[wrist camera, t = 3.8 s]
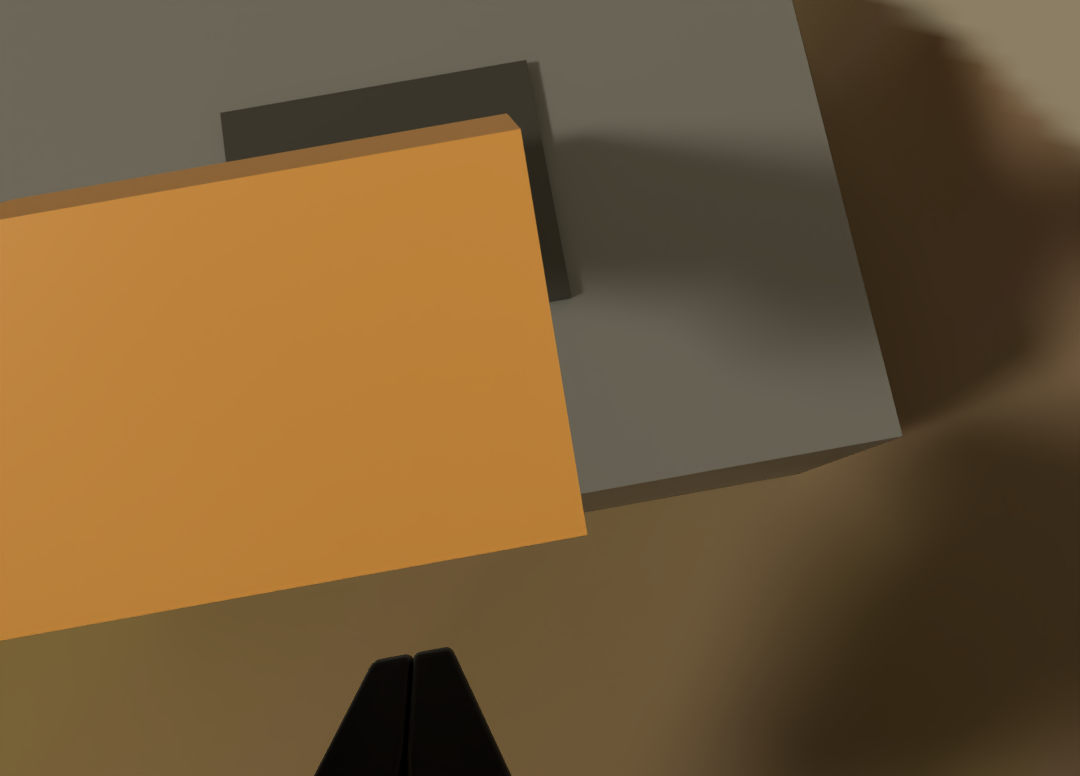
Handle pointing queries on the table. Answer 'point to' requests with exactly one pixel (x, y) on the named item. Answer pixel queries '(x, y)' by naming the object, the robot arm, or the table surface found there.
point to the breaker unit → (532, 188)
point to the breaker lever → (276, 376)
